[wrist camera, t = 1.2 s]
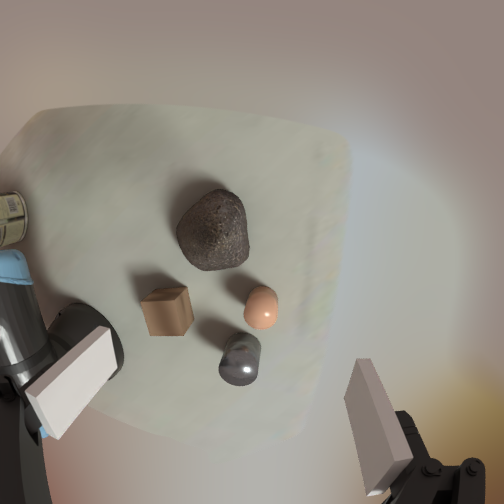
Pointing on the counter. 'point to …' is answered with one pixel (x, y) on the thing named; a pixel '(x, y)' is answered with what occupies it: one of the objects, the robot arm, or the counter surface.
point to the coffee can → (12, 218)
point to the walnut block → (168, 311)
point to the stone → (215, 232)
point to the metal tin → (240, 359)
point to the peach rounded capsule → (261, 308)
